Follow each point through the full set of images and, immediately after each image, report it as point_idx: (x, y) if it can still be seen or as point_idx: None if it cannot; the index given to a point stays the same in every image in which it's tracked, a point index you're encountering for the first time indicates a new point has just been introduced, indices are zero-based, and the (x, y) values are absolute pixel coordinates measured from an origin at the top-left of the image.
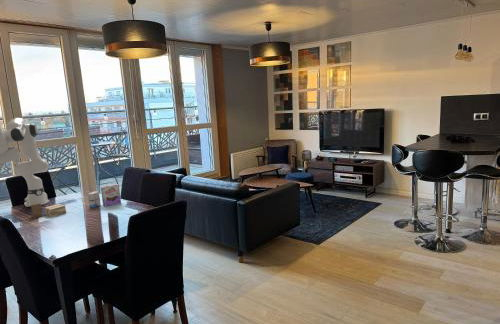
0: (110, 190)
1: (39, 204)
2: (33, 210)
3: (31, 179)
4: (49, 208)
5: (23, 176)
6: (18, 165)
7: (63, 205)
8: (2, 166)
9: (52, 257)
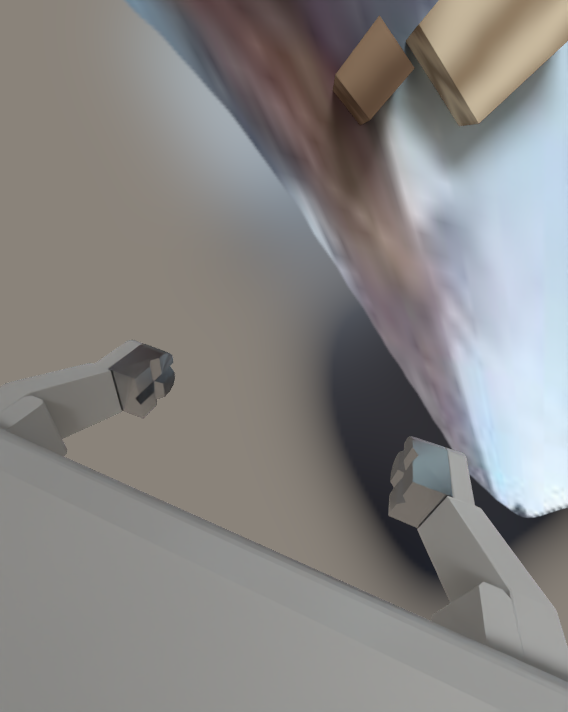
0: None
1: (406, 77)
2: (356, 111)
3: None
4: (468, 81)
5: None
6: (462, 458)
7: None
8: (81, 423)
9: (517, 512)
